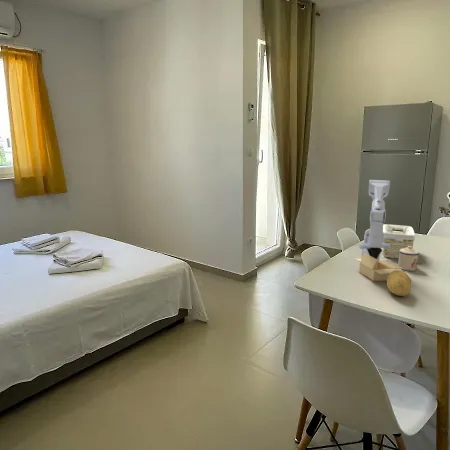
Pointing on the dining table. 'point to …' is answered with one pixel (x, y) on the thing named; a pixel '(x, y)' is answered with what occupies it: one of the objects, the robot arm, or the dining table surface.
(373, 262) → the flap
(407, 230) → the storage basket
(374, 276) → the carton
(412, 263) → the teacup with lid
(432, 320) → the dining table surface
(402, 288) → the potato
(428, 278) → the dining table surface
